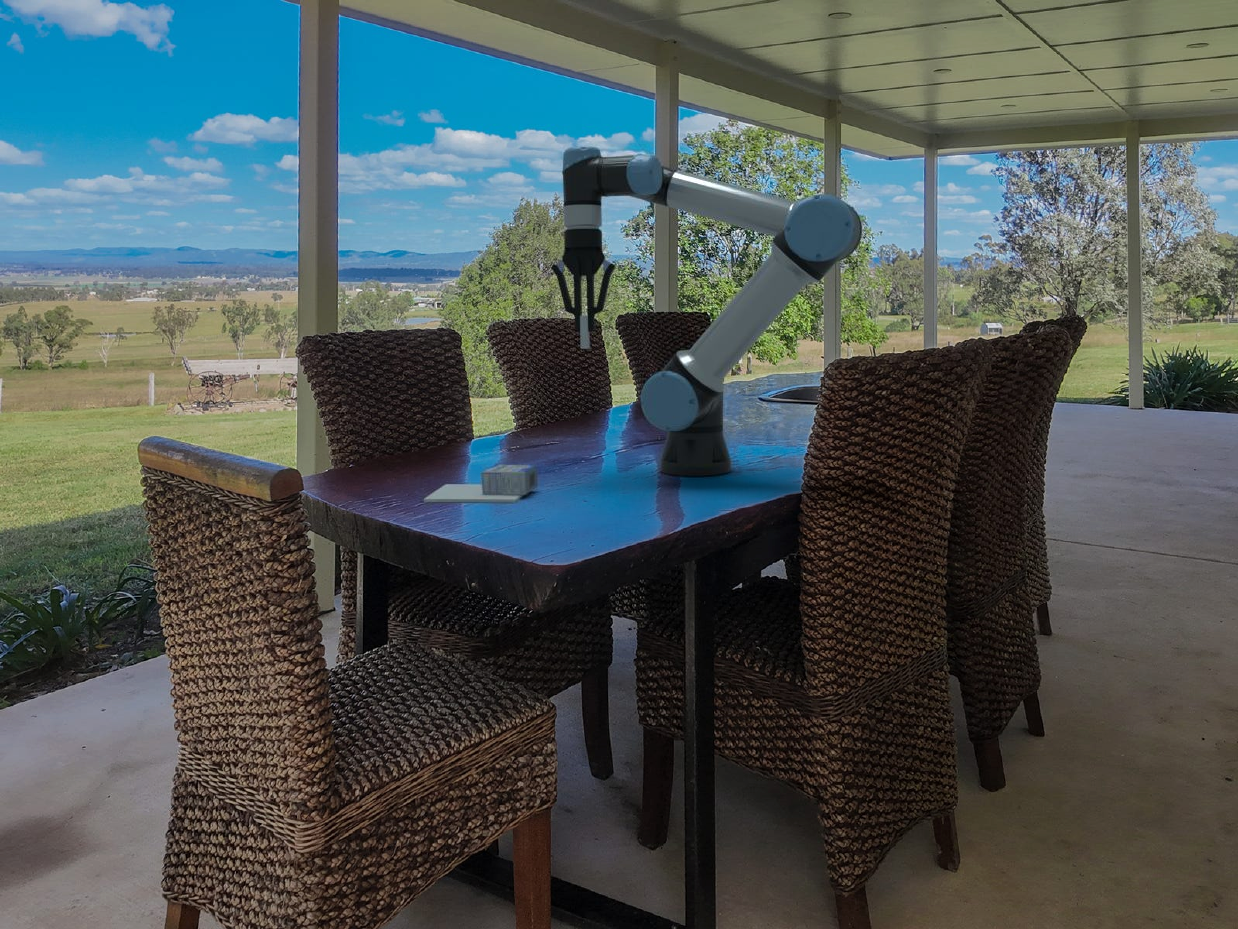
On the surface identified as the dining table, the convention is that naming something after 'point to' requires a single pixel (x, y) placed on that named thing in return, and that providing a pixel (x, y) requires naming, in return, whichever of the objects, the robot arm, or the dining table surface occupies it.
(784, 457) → the dining table surface
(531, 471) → the medicine box
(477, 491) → the mat
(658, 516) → the dining table surface
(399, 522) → the dining table surface
